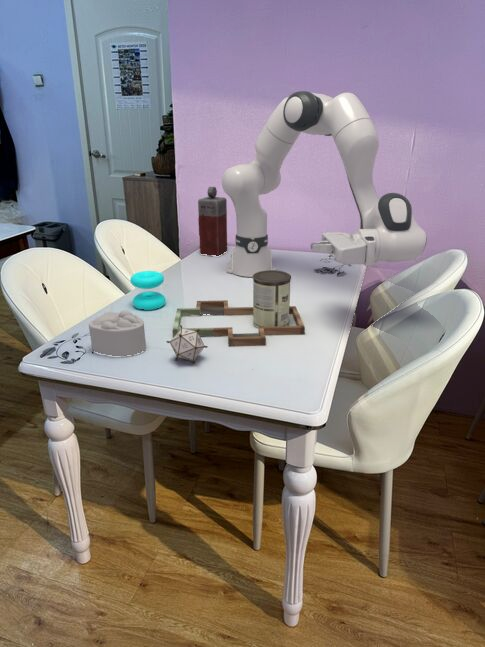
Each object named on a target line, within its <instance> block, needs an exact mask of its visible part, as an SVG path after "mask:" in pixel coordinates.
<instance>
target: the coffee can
mask: <svg viewBox="0 0 485 647" xmlns="http://www.w3.org/2000/svg"><path fill="white" fill-rule="evenodd" d="M252 280H253V283H252V286H253V287H252V288H253V290H252V292H253V293H252V294H253V295H252V296H253V297H252V299H253V300H252V301H253V304H252V307H253V315H252V316H253V317H252V318H253V319H252V325H253V326H254V328H256V329H258V330H259V327H270V326H290V314H289V307H290V306H291V305H290V303H291V302H290V301H291V300H290V299H291V298H290V297H291V280H292V275H291V274H290V273H288V272H286V271H282V270H277V269H276V270H267V271H260V272H257V273H255V274H254V275H253V277H252Z"/></svg>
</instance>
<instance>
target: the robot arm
mask: <svg viewBox="0 0 485 647" xmlns="http://www.w3.org/2000/svg"><path fill="white" fill-rule="evenodd" d="M302 133H304V134H307V135H312V136H313V135H314V136H316V135H319V136H326V137H329V136H330V137H331V136H332V139H333V141H334V144H335V146H336V148H337V150H338V153H339V156H340V159H341V161H342V164H343V167H344V170H345V173H346V177H347V181H348V184H349V187H350V190H351V193H352V196H353V199H354V202H355V205H356V208H357V211H358V213H359V214H358V215H359V222H360V228H358V229H356V230H355V232H354V233H348V232H338V231H333V232H332V231H331V232H329V231H326V232H322V233H321V240H320V241H316V242H311V243H310V249H311V250H312V252H315V253H316V252H317V253H318V252H320V253H325V254H329V255H331V257H332V258H333V259H334V260H335V261H336V262H337V263H339V264H342V265H343V264H345V265H363V266H365V267H373V266H374V264H375V263H379V262H388V263H401V262H403V263H404V262H410V261H414V260H416V259H418V258H419V257H420V256H422V255H423V253H424V252H425V249H426V247H427V240H428V238H427V233H426V231H425V230H424V229H423V228H422V227H420V225H419V224H418V222H417V220H416V219H415V216H414V214H413V210H412V204H411V201H410V200H409V199H408V198H407V197H406V196H405V195H403V194H401V193H397V192H388V193H385V194H384V195H382V196H381V197H380V198H379V196H378V194H377V191H376V189H375V186H374V181H373V173H374V172H373V171H374V164H375V162H376V157H377V154H378V151H379V146H380V143H379V141H380V140H379V137H378V132H377V129H376V127H375V125H374V123H373V121H372V118H371V116H370V115H369V112H368V111H367V109H366V107H365V106H364V105H363V103H362V102H361V100H360V99H359V98H358V97H357V95H355V94H354V93H352V92H342V93H339V94H338V95H336V96H335V97H332V96H329V95H327V94H323V93H316V92H310V91H306V90H301V91H296V92H293V93H291V94H290V95H289V96H287V97H285V98H283V99H281V101H280V102H279V104H278V105H277V106H276V108H274V110H273V112H272V113H271V114H270V116H269V117H268V119H267V121H266V122H265V124H264V126H263V128H262V129H261V131H260V133H259V135H258V137H257V138H256V140H255V142H254V148H255V151H256V154H255V156H254V159H253V161H251V162H250V163H249V162H248V163H243V164H242V163H241V164H236V165H234V166H231V167H229V168H227V169H225V171H224V173H223V174H222V178H221V186H222V189H223V191H224V193H225V194H226V195H227V196H228V197H229V198H230V200H231V202H232V203H233V204H232V205H233V206H234V211H235V216H236V219H235V220H236V234H235V238H234V239H235V240H234V241H235V247H234V248H233V250H232V251H231V252H230V258H231V260H230V263H229V265H228V267H227V268H226V273H228V274H233V275H236V276H241V277H245V278H246V277H247V278H248V277H249V278H253V275H254V274H255V273H257V272H260V271H267V270H276V271H277V268H276V267H275V266H274V265H273V260H272V259H273V256H272V255H273V254H272V252H273V251H272V249H271V248H270V247H269V246H268V244H269V237H268V236H269V234H268V231H267V230H268V214H267V213H268V212H266V210H265V209H264V208H262V205H261V202H260V196H261V195H266V194H269V193H271V192H273V191H275V190H276V189H277V188H279V186H280V184H281V179H282V176H281V168H282V165H283V163H284V161H285V158H286V157H287V156H288V154H289V152H290V151H291V149H292V148H293V146H294V144H295V143H296V141H297V139H298V138H299V137H300V134H302Z"/></svg>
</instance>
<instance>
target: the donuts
mask: <svg viewBox="0 0 485 647" xmlns="http://www.w3.org/2000/svg"><path fill="white" fill-rule="evenodd" d="M164 280H165V277H164V275H163V273H161V272H159V271H154V270H143V271H138V272H135V273H133V274H132V275H131V277H130V280H129V281H130V283H131V285H132V286H133V287H135V288H137V289H140V290H141V289H142V290H149V289H151V290H152V289H155V288H157V287H160V286H161V285H162V284H163V283H164ZM166 302H167V301H166V296H164V294H163V293H160V292H159V291H143V292H140V293H137V295H135V296H134V297H133V299H132V305H133V306H134V307H135V308H136V309H138V310H141V309H144V310H143V311H153V310H157V308H158V309H160V308H162V307H163V306H164V305H165V304H166Z"/></svg>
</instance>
